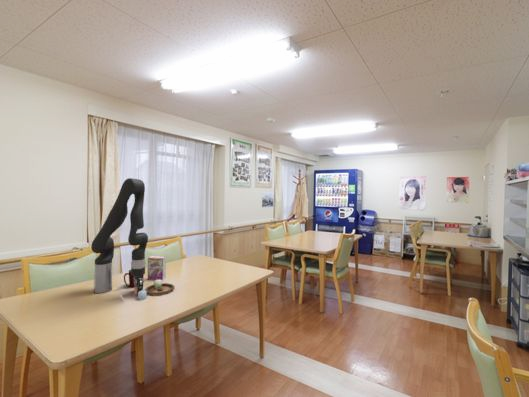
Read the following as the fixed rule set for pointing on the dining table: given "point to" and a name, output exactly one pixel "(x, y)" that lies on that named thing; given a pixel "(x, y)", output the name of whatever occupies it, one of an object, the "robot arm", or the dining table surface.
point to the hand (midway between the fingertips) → (138, 294)
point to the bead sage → (157, 284)
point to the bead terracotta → (136, 290)
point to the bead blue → (142, 295)
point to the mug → (130, 279)
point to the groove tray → (160, 290)
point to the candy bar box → (156, 268)
